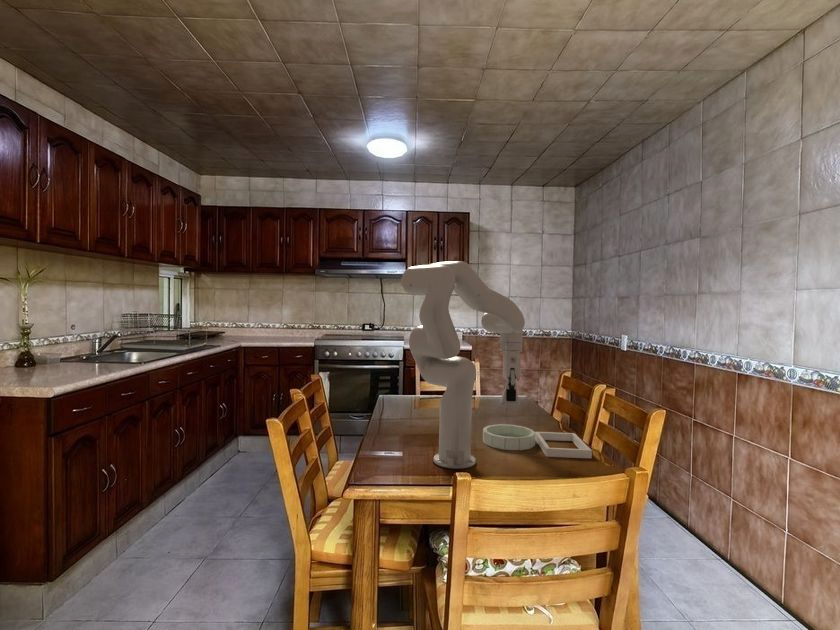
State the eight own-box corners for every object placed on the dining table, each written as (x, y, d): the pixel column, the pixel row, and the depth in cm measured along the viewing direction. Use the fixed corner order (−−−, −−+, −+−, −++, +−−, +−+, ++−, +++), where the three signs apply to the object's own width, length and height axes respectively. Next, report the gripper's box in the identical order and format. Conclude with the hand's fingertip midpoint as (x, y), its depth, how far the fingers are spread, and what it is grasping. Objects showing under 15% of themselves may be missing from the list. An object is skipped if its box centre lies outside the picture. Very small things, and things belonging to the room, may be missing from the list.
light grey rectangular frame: (591, 458, 146) (591, 450, 145) (546, 456, 146) (546, 448, 146) (574, 440, 165) (574, 433, 165) (534, 438, 166) (534, 431, 166)
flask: (520, 407, 156) (521, 377, 156) (498, 406, 158) (499, 376, 158) (520, 403, 164) (521, 374, 163) (499, 401, 165) (500, 373, 165)
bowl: (538, 451, 152) (539, 439, 152) (485, 448, 153) (485, 436, 153) (529, 436, 169) (529, 425, 169) (481, 434, 170) (481, 423, 170)
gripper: (526, 349, 152) (524, 405, 152) (518, 345, 169) (517, 395, 169) (503, 348, 152) (501, 404, 152) (497, 344, 169) (496, 394, 169)
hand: (509, 398), depth 161 cm, fingers closed on flask, 4 cm apart
